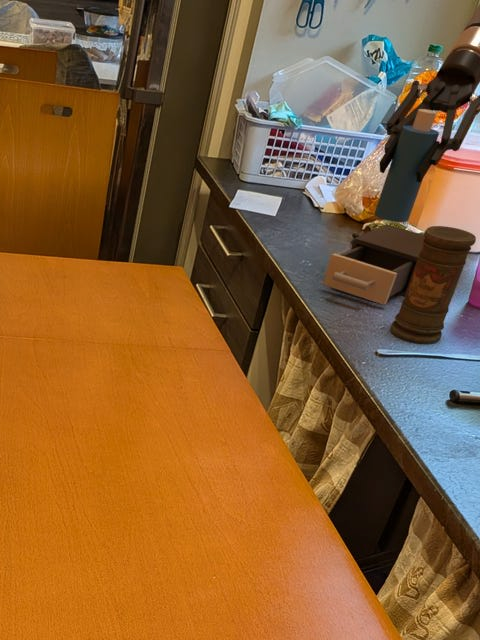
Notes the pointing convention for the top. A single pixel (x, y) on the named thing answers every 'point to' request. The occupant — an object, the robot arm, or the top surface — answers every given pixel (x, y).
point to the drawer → (369, 273)
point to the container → (432, 284)
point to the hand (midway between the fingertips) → (400, 172)
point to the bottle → (406, 168)
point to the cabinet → (393, 244)
